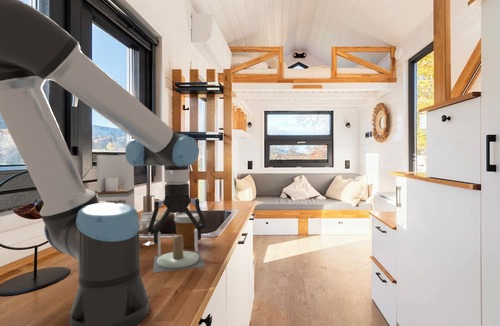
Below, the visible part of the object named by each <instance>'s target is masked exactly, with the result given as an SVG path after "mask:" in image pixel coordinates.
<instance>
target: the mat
mask: <svg viewBox="0 0 500 326" xmlns="http://www.w3.org/2000/svg"><path fill="white" fill-rule="evenodd" d="M194 252H195V253H197V254H198V255H199V261H198V262H197V263H196V264H194V265H191V266H188V267H184V268H177V269H167V268H162V267H160V266H158V265H157V259H158V258H159V257H160V256H162V255H163V254H161V255H158V254H157V255H154V257H153V266H152V267H153V268H152V274H157V273H165V272H171V271H179V270H181V271H182V270H188V269H195V268H196V269H197V268H198V269H199V268H206V266H205V265H206V264H205V262H204V259H203V257H202V254H201V252H200V250H198V251H195V250H194Z"/></svg>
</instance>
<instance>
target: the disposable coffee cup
mask: <svg viewBox="0 0 500 326" xmlns="http://www.w3.org/2000/svg"><path fill="white" fill-rule="evenodd" d="M191 214H192V215H193V217H194V218H195V219H196V221H197V222H198V223H199V221H200V218H199V215H198V213H197V212H191ZM173 220H174V223H175V227H176V228H175V229H176V235H183V249H188V248H193V247H194V248H195V232H194V229H197V228H196V227H195V225H194V224H193V222H192V221H191V220H190V218H189V217H188V215H187V214H186V213H185V212H181V213H176V214H175V216H174V219H173Z"/></svg>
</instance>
